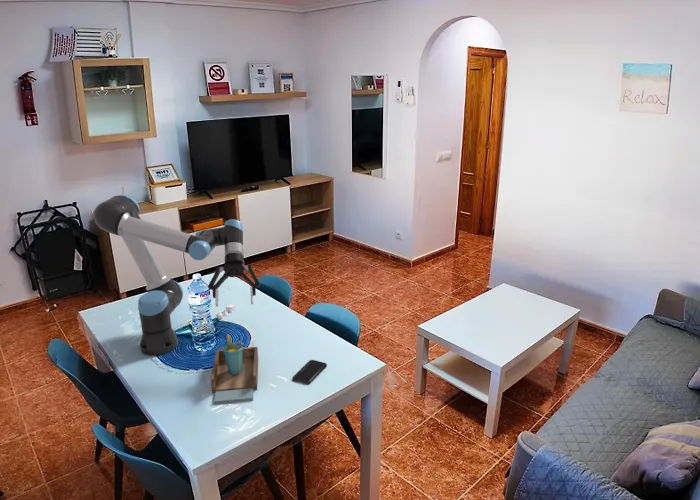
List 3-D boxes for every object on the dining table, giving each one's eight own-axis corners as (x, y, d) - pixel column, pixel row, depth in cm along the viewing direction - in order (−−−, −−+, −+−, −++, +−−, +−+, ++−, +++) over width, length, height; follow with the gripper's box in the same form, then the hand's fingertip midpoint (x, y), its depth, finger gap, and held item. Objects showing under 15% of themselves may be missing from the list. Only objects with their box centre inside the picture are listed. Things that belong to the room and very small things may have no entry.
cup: (255, 375, 193) (252, 340, 188) (238, 383, 188) (234, 347, 183) (234, 361, 202) (231, 327, 197) (217, 369, 197) (214, 334, 192)
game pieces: (229, 310, 251) (229, 304, 250) (235, 311, 250) (235, 305, 249) (214, 319, 241) (214, 313, 240) (220, 321, 240) (219, 314, 239)
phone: (327, 363, 202) (309, 383, 189) (327, 366, 202) (309, 385, 190) (310, 359, 205) (290, 378, 192) (310, 361, 206) (291, 380, 193)
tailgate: (216, 393, 184) (214, 403, 179) (215, 391, 184) (214, 401, 179) (253, 390, 186) (253, 400, 181) (253, 388, 186) (252, 397, 180)
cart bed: (212, 393, 185) (210, 379, 183) (217, 362, 204) (216, 349, 202) (257, 389, 187) (256, 375, 185) (258, 359, 206) (257, 346, 204)
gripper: (264, 257, 215) (266, 305, 206) (204, 260, 212) (203, 309, 203) (264, 250, 208) (266, 299, 200) (201, 253, 205) (200, 303, 196)
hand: (234, 304), depth 201 cm, fingers open, 13 cm apart
